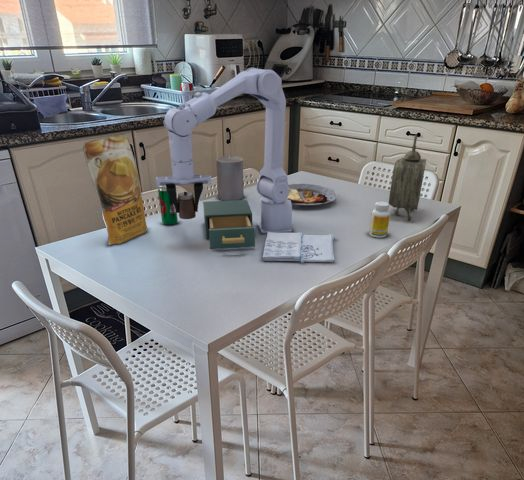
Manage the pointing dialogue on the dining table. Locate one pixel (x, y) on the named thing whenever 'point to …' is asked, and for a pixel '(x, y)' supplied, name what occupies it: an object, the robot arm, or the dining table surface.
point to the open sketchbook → (298, 247)
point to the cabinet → (225, 210)
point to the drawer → (231, 232)
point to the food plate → (310, 195)
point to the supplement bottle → (379, 220)
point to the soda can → (167, 207)
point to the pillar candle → (229, 178)
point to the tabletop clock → (407, 181)
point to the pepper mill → (186, 205)
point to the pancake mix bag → (117, 186)
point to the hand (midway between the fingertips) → (186, 211)
